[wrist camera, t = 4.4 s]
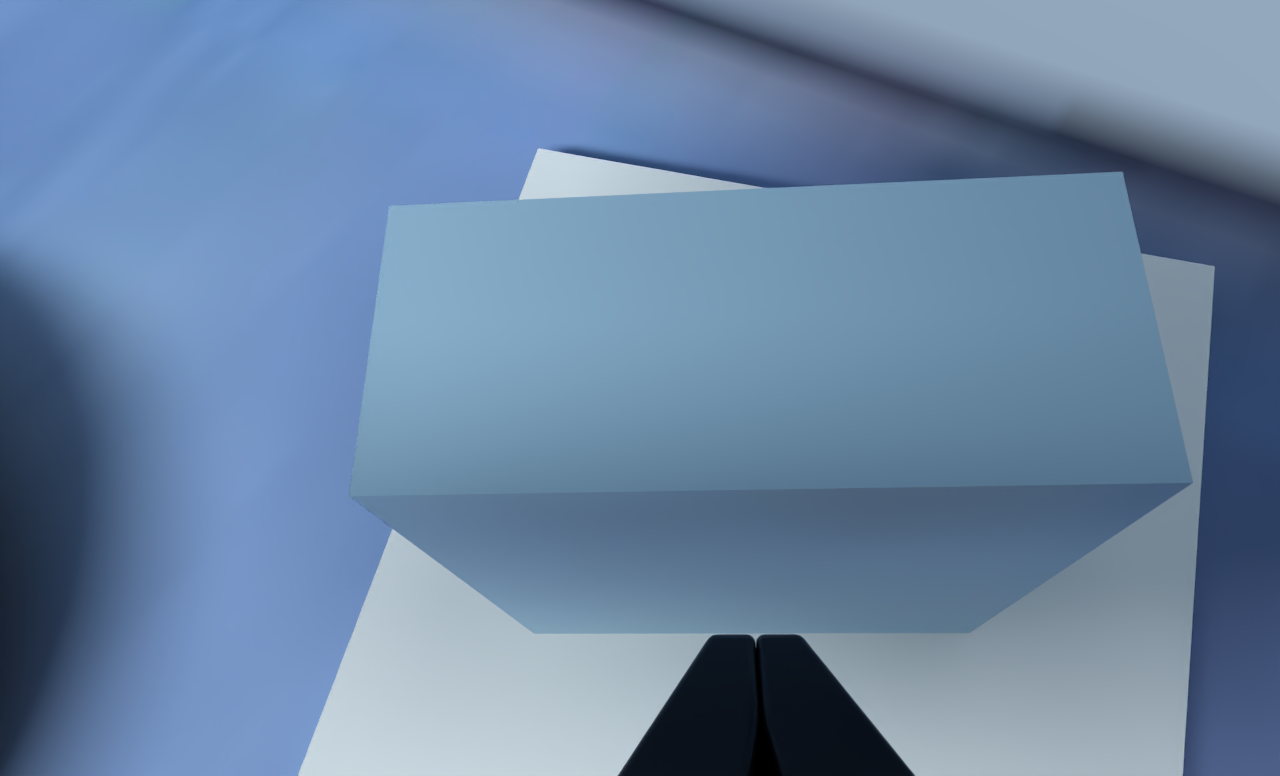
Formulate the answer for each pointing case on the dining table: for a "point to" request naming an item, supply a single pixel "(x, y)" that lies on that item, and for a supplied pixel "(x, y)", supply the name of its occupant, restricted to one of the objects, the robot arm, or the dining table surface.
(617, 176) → the mat
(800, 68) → the dining table surface
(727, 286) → the box
